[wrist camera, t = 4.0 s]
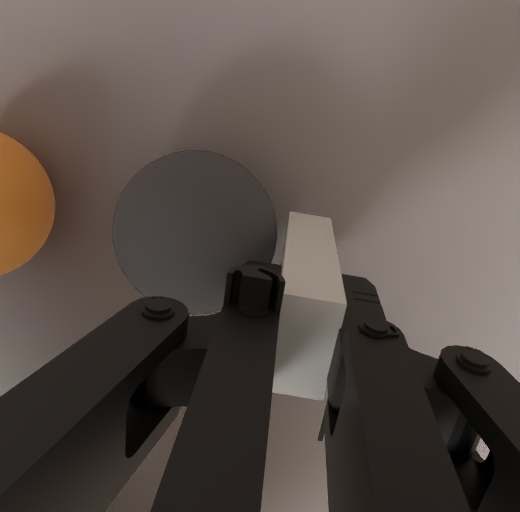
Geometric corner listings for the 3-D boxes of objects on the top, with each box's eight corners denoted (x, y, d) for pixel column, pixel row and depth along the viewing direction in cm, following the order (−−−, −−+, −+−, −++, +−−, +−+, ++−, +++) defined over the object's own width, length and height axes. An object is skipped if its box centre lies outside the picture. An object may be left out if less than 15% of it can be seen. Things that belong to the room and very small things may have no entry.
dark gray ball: (279, 293, 18) (157, 260, 19) (304, 159, 16) (167, 131, 17) (234, 365, 13) (74, 315, 14) (263, 184, 11) (75, 143, 12)
